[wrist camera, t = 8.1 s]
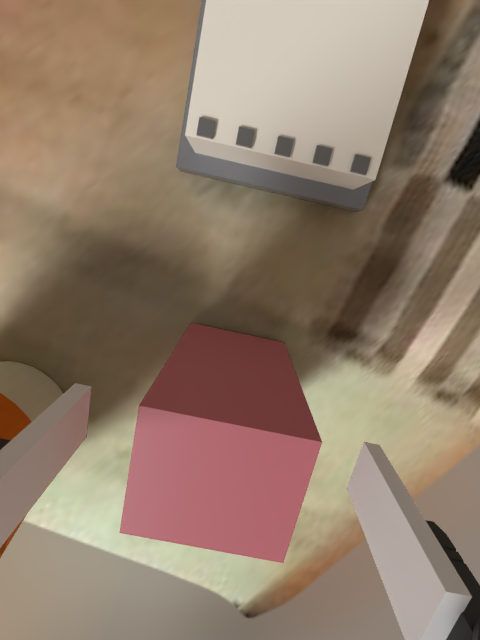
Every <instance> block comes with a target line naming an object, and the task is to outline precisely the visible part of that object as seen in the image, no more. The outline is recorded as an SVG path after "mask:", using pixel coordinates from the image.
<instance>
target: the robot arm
mask: <svg viewBox="0 0 480 640" xmlns="http://www.w3.org/2000/svg"><path fill="white" fill-rule="evenodd" d="M90 397H91V386H86V385H82V384H77V383H75V384H74V385H73V386H71V387H70V388H69V389H68V390H67V391H66V392H65V393H64V394H62V395H61V396H60V397H59V398H58V399H57V400H56V401H55V402H54V403H52V404H51V405H50V406H49V407H48V408H47V409H46V410H45V411H43V412H42V413H41V414H40V415H39V416H38V417H37V418H36V419H35V420H33V421H32V422H31V423H30V424H29V425H28V426H27V427H26V428H24V429H23V430H22V431H21V432H20V433H19V434H18V435H17V436H16V437H14V438H13V439H12V440H8V439H2V438H0V548H1V546H2V545H3V544H4V543H5V541H6V540H7V539H8V537H9V536H10V535H11V533H12V532H13V531H14V530H15V528H16V527H17V526H18V524H19V523H20V522H21V521H22V519H23V518H24V517H25V515H26V514H27V513H28V512H29V510H30V509H31V508H32V506H33V505H34V504H35V503H36V501H37V500H38V499H39V497H40V496H41V495H42V493H43V492H44V491H45V490H46V488H47V487H48V486H49V484H50V483H51V482H52V481H53V479H54V478H55V477H56V475H57V474H58V473H59V472H60V470H61V469H62V468H63V466H64V465H65V464H66V462H67V461H68V460H69V459H70V457H71V456H72V455H73V453H74V452H75V451H76V450H77V448H78V447H79V446H80V444H81V443H82V442H83V441H84V439H85V438H86V437H87V427H88V417H89V407H90ZM347 490H348V492H349V495H350V498H351V500H352V503H353V506H354V508H355V511H356V513H357V516H358V519H359V521H360V524H361V526H362V529H363V532H364V534H365V537H366V539H367V542H368V545H369V547H370V550H371V552H372V555H373V558H374V560H375V563H376V565H377V568H378V571H379V573H380V576H381V578H382V581H383V584H384V586H385V589H386V592H387V594H388V597H389V599H390V602H391V604H392V607H393V610H394V612H395V615H396V617H397V620H398V623H399V625H400V628H401V631H402V633H403V636H404V638H405V640H480V585H479V584H478V582H477V581H476V579H475V578H474V576H473V575H472V573H471V571H470V570H469V568H468V567H467V565H466V564H464V562H463V559H462V558H461V556H460V555H459V553H458V552H456V548H455V547H454V545H453V544H452V543H451V541H450V539H449V538H448V537H447V535H446V534H445V533H444V532H443V531H442V530H441V529H440V528H439V527H438V526H437V525H436V524H435V523H434V522H432V521H426V520H425V519H424V517H423V515H422V514H421V512H420V511H419V509H418V507H417V506H416V504H415V502H414V501H413V499H412V497H411V496H410V494H409V493H408V491H407V489H406V488H405V486H404V484H403V483H402V481H401V479H400V478H399V476H398V475H397V473H396V471H395V470H394V468H393V466H392V465H391V463H390V461H389V460H388V458H387V457H386V455H385V453H384V452H383V450H382V448H381V447H380V445H377V444H372V443H367V442H364V444H363V446H362V449H361V452H360V454H359V457H358V460H357V462H356V465H355V468H354V470H353V473H352V475H351V478H350V481H349V483H348V486H347Z"/></svg>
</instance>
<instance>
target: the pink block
mask: <svg viewBox="0 0 480 640" xmlns="http://www.w3.org/2000/svg"><path fill="white" fill-rule="evenodd" d="M321 444H322V441H321V438H320V436H319V433H318V430H317V428H316V425H315V422H314V420H313V417H312V414H311V412H310V409H309V406H308V404H307V401H306V399H305V396H304V393H303V391H302V388H301V385H300V383H299V380H298V377H297V375H296V372H295V370H294V367H293V364H292V362H291V359H290V356H289V354H288V351H287V348H286V346H285V343H284V342H280V341H275V340H270V339H265V338H261V337H256V336H251V335H246V334H242V333H237V332H232V331H228V330H223V329H218V328H213V327H209V326H204V325H199V324H195V323H191V324H190V325H189V327H188V328H187V330H186V332H185V333H184V335H183V336H182V338H181V340H180V341H179V343H178V344H177V346H176V348H175V349H174V351H173V352H172V354H171V356H170V357H169V359H168V360H167V362H166V364H165V365H164V367H163V368H162V370H161V372H160V373H159V375H158V376H157V378H156V380H155V381H154V383H153V384H152V386H151V387H150V389H149V391H148V392H147V394H146V395H145V397H144V399H143V400H142V402H141V403H140V405H139V410H138V416H137V423H136V429H135V436H134V442H133V449H132V455H131V462H130V468H129V475H128V481H127V488H126V494H125V501H124V507H123V514H122V520H121V527H120V533H123V534H129V535H134V536H140V537H145V538H150V539H156V540H161V541H167V542H172V543H178V544H183V545H188V546H194V547H199V548H205V549H210V550H216V551H221V552H226V553H232V554H237V555H243V556H248V557H254V558H259V559H264V560H270V561H275V562H281V563H283V562H284V559H285V556H286V553H287V550H288V547H289V543H290V540H291V537H292V534H293V531H294V528H295V525H296V522H297V519H298V515H299V512H300V509H301V506H302V503H303V500H304V497H305V494H306V491H307V487H308V484H309V481H310V478H311V475H312V472H313V469H314V466H315V463H316V459H317V456H318V453H319V450H320V447H321Z"/></svg>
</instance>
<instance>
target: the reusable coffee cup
mask: <svg viewBox="0 0 480 640" xmlns="http://www.w3.org/2000/svg"><path fill="white" fill-rule="evenodd" d="M62 394H63V392H62V391H61V389H60V388H59V386H58V385H57V384H56V383H55V382H54V381H53V380H52V379H51V378H49V377H48V376H47V375H46V374H44V373H43V372H41V371H39V370H37V369H36V368H34V367H32V366H29V365H26V364H23V363H18V362H12V361H0V438H2V439H8V440H12V439H13V438H14V437H16V436H17V435H18V434H19V433H20V432H21V431H22V430H23V429H24V428H26V427H27V426H28V425H29V424H30V423H31V422H32V421H33V420H35V419H36V418H37V417H38V416H39V415H40V414H41V413H42V412H43V411H45V410H46V409H47V408H48V407H49V406H50V405H51V404H52V403H54V402H55V401H56V400H57V399H58V398H59V397H60V396H61V395H62ZM26 515H27V514H26ZM26 515H25V516H26ZM24 518H25V517H24ZM24 518H23V519H22V521H23V520H24ZM22 521H21V522H20V523H19V524H18V526H17V527H16V528H15V530H14V531H13V532H12V533H11V535H10V536H9V537H8V539H7V540H6V541H5V543H4V544H3V545H2V546H1V548H0V557H1V556H2V554H3V552H4V551H5V549H6V547H7V546H8V544H9V542H10V541H11V539H12V538H13V536H14V534H15V533H16V531H17V529H18V528H19V526H20V524H21V523H22Z"/></svg>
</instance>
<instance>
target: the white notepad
mask: <svg viewBox="0 0 480 640" xmlns="http://www.w3.org/2000/svg"><path fill="white" fill-rule="evenodd" d="M428 3H429V0H202V4H201V10H200V17H199V23H198V30H197V36H196V43H195V49H194V56H193V62H192V69H191V75H190V82H189V88H188V94H187V101H186V107H185V114H184V120H183V127H182V133H181V140H180V146H179V153H178V159H177V166H176V167H177V168H178V169H179V170H180V171H182V172H186V173H190V174H195V175H199V176H203V177H208V178H212V179H216V180H221V181H225V182H229V183H234V184H238V185H242V186H247V187H251V188H255V189H260V190H264V191H268V192H273V193H277V194H281V195H286V196H290V197H294V198H299V199H303V200H307V201H312V202H316V203H320V204H325V205H329V206H333V207H338V208H342V209H346V210H351V211H355V212H357V211H361V210H364V208H365V204H366V201H367V198H368V194H369V191H370V188H371V184H372V181H374V180H376V176H377V173H378V170H379V166H380V163H381V160H382V156H383V153H384V150H385V146H386V143H387V140H388V136H389V133H390V130H391V126H392V123H393V120H394V116H395V113H396V110H397V106H398V103H399V100H400V96H401V93H402V90H403V86H404V83H405V79H406V76H407V73H408V69H409V66H410V63H411V59H412V56H413V53H414V49H415V46H416V43H417V39H418V36H419V33H420V29H421V26H422V23H423V19H424V16H425V13H426V9H427V6H428Z"/></svg>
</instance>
